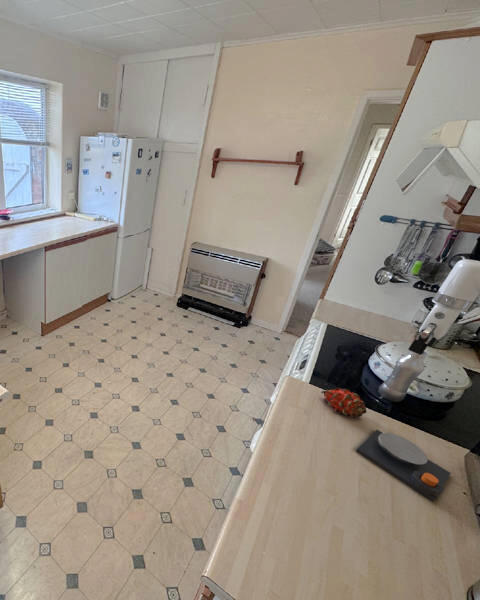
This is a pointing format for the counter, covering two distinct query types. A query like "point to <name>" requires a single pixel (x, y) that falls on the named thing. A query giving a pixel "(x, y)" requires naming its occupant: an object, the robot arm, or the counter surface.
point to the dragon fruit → (345, 402)
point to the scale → (404, 468)
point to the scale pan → (402, 449)
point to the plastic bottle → (402, 376)
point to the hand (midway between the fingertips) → (419, 348)
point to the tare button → (429, 479)
